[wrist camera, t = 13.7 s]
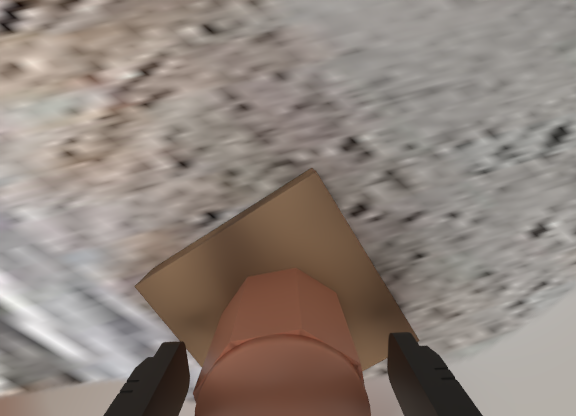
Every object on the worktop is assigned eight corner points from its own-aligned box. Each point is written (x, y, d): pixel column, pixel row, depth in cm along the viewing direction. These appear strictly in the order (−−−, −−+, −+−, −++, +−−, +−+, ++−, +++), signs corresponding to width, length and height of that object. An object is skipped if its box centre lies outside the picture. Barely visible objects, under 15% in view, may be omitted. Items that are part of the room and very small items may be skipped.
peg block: (311, 167, 14) (330, 185, 8) (403, 317, 16) (470, 415, 10) (153, 268, 15) (72, 345, 10) (256, 397, 17) (243, 526, 11)
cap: (204, 338, 14) (162, 441, 9) (266, 249, 13) (256, 312, 8) (298, 390, 15) (305, 511, 10) (363, 309, 14) (406, 399, 9)
